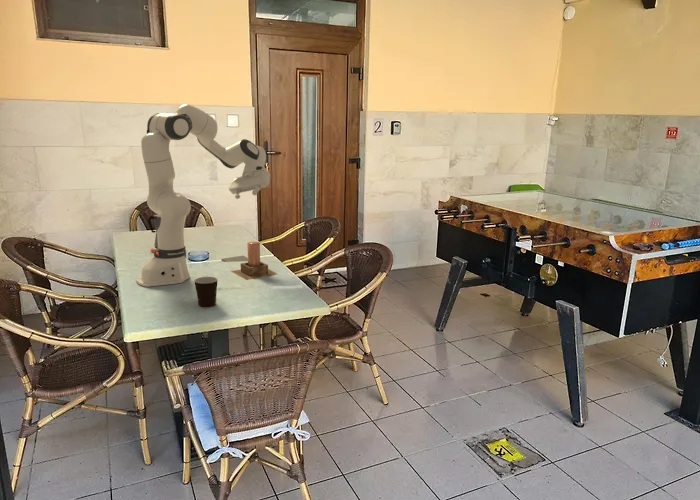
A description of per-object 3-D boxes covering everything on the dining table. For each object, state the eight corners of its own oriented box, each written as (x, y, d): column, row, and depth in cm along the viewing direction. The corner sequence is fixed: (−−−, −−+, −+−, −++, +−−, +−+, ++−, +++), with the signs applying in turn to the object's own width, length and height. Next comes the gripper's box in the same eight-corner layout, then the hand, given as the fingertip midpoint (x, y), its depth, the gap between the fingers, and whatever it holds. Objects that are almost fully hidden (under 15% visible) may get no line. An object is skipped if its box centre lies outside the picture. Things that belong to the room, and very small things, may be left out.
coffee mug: (212, 309, 199) (211, 284, 196) (191, 307, 200) (190, 282, 198) (225, 299, 210) (224, 275, 207) (205, 297, 211) (204, 273, 209)
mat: (231, 265, 257) (231, 264, 256) (221, 260, 266) (221, 258, 266) (253, 262, 264) (253, 260, 264) (243, 256, 273) (243, 255, 273)
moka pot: (179, 245, 295) (177, 210, 290) (156, 250, 282) (154, 214, 277) (168, 242, 300) (166, 208, 295) (145, 248, 287) (142, 212, 282)
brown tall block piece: (248, 271, 244) (247, 241, 241) (260, 270, 245) (259, 241, 242) (247, 276, 237) (247, 245, 233) (260, 275, 238) (259, 245, 234)
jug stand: (246, 282, 232) (246, 271, 230) (230, 273, 244) (230, 262, 243) (278, 276, 241) (278, 265, 240) (261, 268, 253) (261, 257, 252)
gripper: (230, 174, 254) (223, 195, 246) (266, 165, 246) (260, 187, 238) (237, 182, 258) (230, 204, 250) (273, 174, 251) (267, 196, 243)
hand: (245, 196), depth 244 cm, fingers open, 8 cm apart
